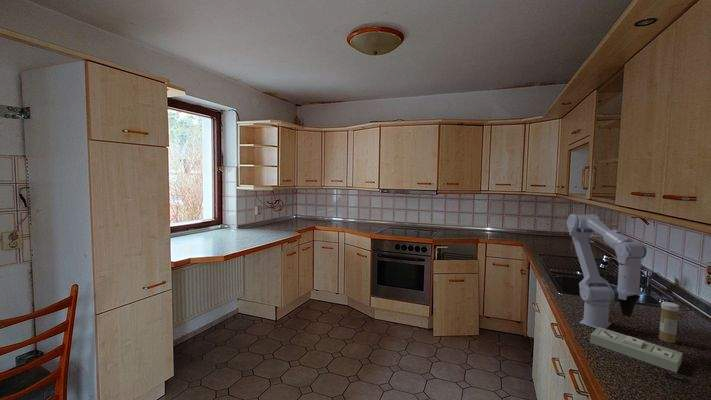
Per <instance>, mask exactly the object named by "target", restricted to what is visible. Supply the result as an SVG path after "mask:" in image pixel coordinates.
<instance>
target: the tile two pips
mask: <svg viewBox="0 0 711 400" xmlns="http://www.w3.org/2000/svg"><path fill="white" fill-rule="evenodd" d="M652 352H653V353H656V354H659V355H662V356H665V357H669V358H672V357H673V353H672V352H669V351H666V350H663V349H659V348H656V347H654V349H653V350H652Z"/></svg>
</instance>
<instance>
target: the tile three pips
mask: <svg viewBox="0 0 711 400" xmlns="http://www.w3.org/2000/svg"><path fill="white" fill-rule="evenodd" d="M599 335H601V336H604V337H607V338H610V339H613V340H615V339H616V338H617V337H618V335H615V334H612V333H609V332H606V331H602V332H600V333H599Z"/></svg>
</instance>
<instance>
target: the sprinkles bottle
mask: <svg viewBox="0 0 711 400" xmlns="http://www.w3.org/2000/svg"><path fill="white" fill-rule="evenodd" d="M660 307H661V313H660V318H659V319H660V322H659V332H658V333H659V334H658V339H659V340H660V341H663V342H666V343H670V344H675V343H676V342H677V341H676V338H677V328H678V321H679V320H678V317H679V311H680V305H679V304H678V303H674V302H670V301H662V302H661V304H660Z"/></svg>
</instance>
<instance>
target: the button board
mask: <svg viewBox="0 0 711 400" xmlns="http://www.w3.org/2000/svg"><path fill="white" fill-rule="evenodd" d="M602 331H606V332H609V333H612V334H615V335H618V337H617V338H616V339H615V340H613V339H610V338H607V337H604V336H601V335H599V333H600V332H602ZM627 336H628V335H626V334H623V333H620V332H617V331H613V330H610V329H607V328H606V329H604V328H601V327H598V328H597V329H596V328H595V330H593V331H592V332H591V333H590V335H589V343H590V344H593V345H596V346H598V347H601V348H604V349H607V350H609V351H613V352H616V353H618V354H622V355H623V356H628V357H630V358H633V359H636V360H638V361H642V362H645V363H647V364H650V365H653V366H656V367H659V368H661V369H665V370H667V371H671V372H673V373H676V374H678V370H679V368H680V367H681V365H682V363H683V354H684V353H683V352H681V351H678V350H675V349H672V348H668V347H665V346H662V345H659V344H656V343H652V342H650V341H649V342H648V341H645V340H644V347H643V348H642V349H641V348H638V347H635V346H632V345H629V344H626V343H624V339H625V338H626V337H627ZM654 347H656V348H659V349H663V350H666V351H669V352H672V353H673V357H672V358H669V357H665V356H662V355H659V354H656V353H653V352H652V350H653V349H654Z"/></svg>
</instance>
